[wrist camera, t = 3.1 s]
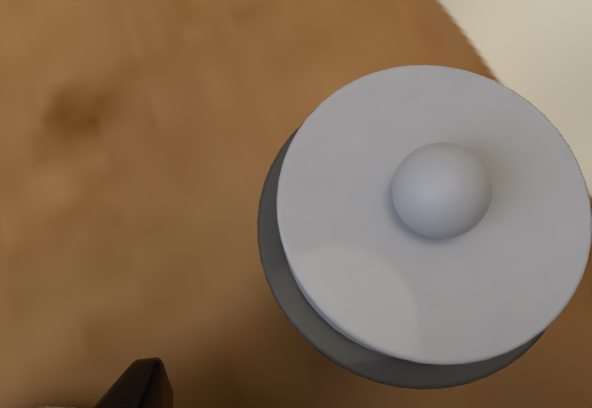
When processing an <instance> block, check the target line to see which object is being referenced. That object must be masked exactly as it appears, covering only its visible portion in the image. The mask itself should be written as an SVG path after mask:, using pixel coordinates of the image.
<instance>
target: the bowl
mask: <svg viewBox="0 0 592 408" xmlns="http://www.w3.org/2000/svg"><path fill="white" fill-rule="evenodd" d="M37 408H74V407H56V406H43V407H37Z"/></svg>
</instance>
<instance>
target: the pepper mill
mask: <svg viewBox="0 0 592 408" xmlns="http://www.w3.org/2000/svg"><path fill="white" fill-rule="evenodd" d="M257 224H258V245H259V251H260V257H261V262H262V265H263V269H264V272H265V276H266V279H267V282H268V284H269V286H270V288H271V290H272V293H273V295H274V297H275V299H276V301H277V303H278V304H279V306H280V307H281V309H282V311H283V312H284V314H285V316H286V317H287V319H288V320H289V321H290V322H291V323H292V325H293V326H294V327H295V328H296V330H297V331H298V332H299V333H300V335H301V336H303V337H304V338H305V339H306V340H307V341H308V342H309V343H310V344H311V345H312V346H313V347H314V348H315V349H316V350H318V351H319V352H320V353H322V354H323V355H324V356H326V357H327V358H329V359H330V360H331V361H333V362H334V363H336V364H337V365H339V366H341V367H343V368H345V369H347V370H349V371H350V372H352V373H354V374H356V375H359V376H362V377H364V378H367V379H369V380H372V381H375V382H378V383H382V384H387V385H391V386H395V387H401V388H411V389H441V388H448V387H454V386H459V385H464V384H468V383H471V382H474V381H476V380H479V379H482V378H485V377H488V376H490V375H491V374H493V373H495V372H497V371H499V370H501V369H503V368H505V367H507V366H508V365H509V364H511V363H512V362H513V361H515V360H516V359H518V358H519V357H520V356H522V355H523V354H524V353H525V352H526V351H527V350H528V349H529V348H530V347H531V346H532V345H533V344H534V343H535V342H536V341H537V340H538V339H539V338H540V337H541V335H542V334H543V333H544V331H545V330H546V329H547V327H548V326H549V325H550V324H551V323H552V322H553V321H554V320H555V319H556V318H557V317H558V316H559V315H560V313H561V312H562V311H563V309H564V308H565V306H566V305H567V304H568V302H569V301H570V300H571V298H572V296H573V294H574V292H575V290H576V289H577V287H578V285H579V283H580V281H581V279H582V276H583V273H584V270H585V267H586V264H587V261H588V256H589V251H590V246H591V237H592V215H591V204H590V199H589V194H588V190H587V186H586V182H585V180H584V177H583V174H582V172H581V169H580V166H579V164H578V162H577V160H576V158H575V156H574V154H573V153H572V150H571V149H570V147H569V145H568V144H567V142H566V141H565V139H564V138H563V137H562V135H561V134H560V132H559V131H558V130H557V128H556V127H555V126H554V125H553V124H552V123H551V122H550V121H549V120H548V118H547V117H546V116H545V115H544V114H543V113H541V112H540V111H539V110H538V109H537V108H536V107H535V106H534V105H532V104H531V103H530V102H529V101H527V100H526V99H525V98H523V97H522V96H520V95H519V94H517V93H516V92H515V91H513V90H511V89H509V88H507V87H506V86H504V85H502V84H500V83H498V82H496V81H494V80H492V79H489V78H487V77H484V76H482V75H479V74H476V73H473V72H469V71H466V70H462V69H457V68H451V67H445V66H435V65H411V66H401V67H395V68H390V69H385V70H382V71H378V72H375V73H372V74H369V75H366V76H364V77H362V78H359V79H357V80H355V81H353V82H351V83H349V84H347V85H346V86H344V87H342V88H341V89H339V90H337V91H336V92H335V93H333V94H332V95H331V96H330V97H328V98H327V99H326V100H324V101H323V102H322V103H321V104H320V105H319V106H318V107H317V108H316V109H315V110H314V111H313V112H312V113H311V114H310V115H309V116H308V118H307V119H306V120H305V122H304V123H303V124H302V125H301V126H300V127H299V128H298V129H297V130H296V131H295V132H294V133H293V134H292V135H291V136H290V137H289V139H288V140H287V141H286V143H285V144H284V145H283V147H282V148H281V149H280V151H279V153H278V155H277V156H276V158H275V160H274V162H273V163H272V165H271V167H270V170H269V172H268V175H267V177H266V180H265V182H264V186H263V190H262V194H261V198H260V202H259V211H258V220H257Z"/></svg>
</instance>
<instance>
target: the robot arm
mask: <svg viewBox="0 0 592 408" xmlns="http://www.w3.org/2000/svg"><path fill="white" fill-rule="evenodd" d="M93 408H173V392H172V388H171V385H170V382H169V379H168V376H167V373H166V370H165V367H164V364H163V362H162V360H161V359H160V358H157V357H154V358H146V359H138V360H136V361H134V362H133V363H132V364H131V365H130V366H129V367H128V368H127V370H126V371H125V372H124V373H123V374H122V375H121V376H120V377H119V379H118V380H117V381H116V382H115V383H114V384H113V385H112V387H111V388H110V389H109V390H108V391H107V392H106V393H105V395H104V396H103V397H102V398H101V399H100V400H99V401H98V402H97V404H96V405H95V406H94V407H93Z"/></svg>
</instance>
